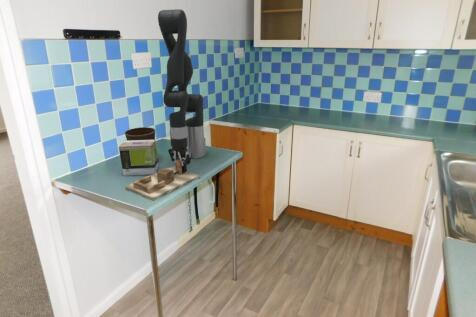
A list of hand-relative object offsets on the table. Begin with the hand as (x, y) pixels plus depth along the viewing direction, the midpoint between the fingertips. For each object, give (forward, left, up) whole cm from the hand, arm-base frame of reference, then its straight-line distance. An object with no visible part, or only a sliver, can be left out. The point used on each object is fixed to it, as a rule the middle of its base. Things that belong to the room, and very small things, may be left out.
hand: (181, 171), depth 148 cm
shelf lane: (+11, 0, -2) cm, 11 cm away
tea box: (+8, -19, -2) cm, 21 cm away
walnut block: (+6, +1, -1) cm, 6 cm away
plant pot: (-2, -30, -2) cm, 30 cm away
